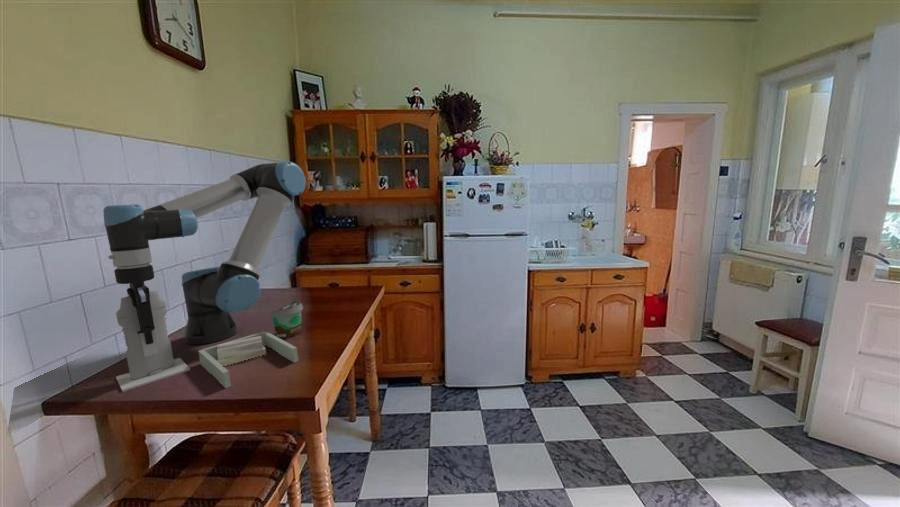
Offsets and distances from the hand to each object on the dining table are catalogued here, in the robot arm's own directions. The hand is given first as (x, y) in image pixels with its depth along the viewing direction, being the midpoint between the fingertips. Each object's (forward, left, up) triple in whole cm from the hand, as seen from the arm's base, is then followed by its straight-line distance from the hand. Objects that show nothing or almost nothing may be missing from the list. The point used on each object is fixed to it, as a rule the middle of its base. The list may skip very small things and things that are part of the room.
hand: (149, 352), depth 98 cm
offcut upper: (+9, +19, -4) cm, 21 cm away
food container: (+3, +37, -6) cm, 38 cm away
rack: (+14, +19, -6) cm, 24 cm away
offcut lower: (+9, +19, -7) cm, 22 cm away
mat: (0, 0, -6) cm, 6 cm away
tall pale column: (0, 0, -6) cm, 6 cm away
